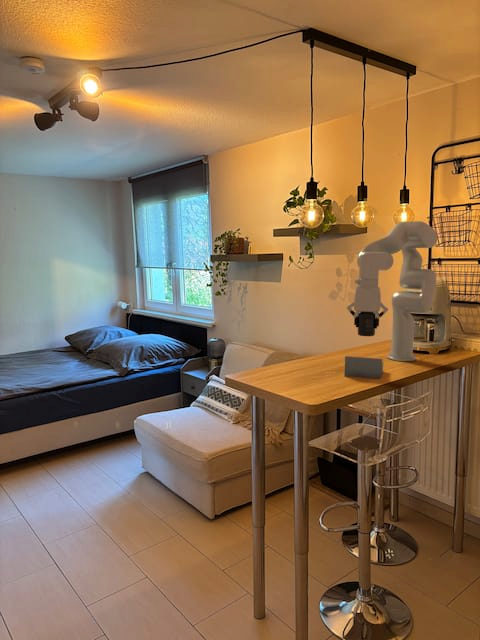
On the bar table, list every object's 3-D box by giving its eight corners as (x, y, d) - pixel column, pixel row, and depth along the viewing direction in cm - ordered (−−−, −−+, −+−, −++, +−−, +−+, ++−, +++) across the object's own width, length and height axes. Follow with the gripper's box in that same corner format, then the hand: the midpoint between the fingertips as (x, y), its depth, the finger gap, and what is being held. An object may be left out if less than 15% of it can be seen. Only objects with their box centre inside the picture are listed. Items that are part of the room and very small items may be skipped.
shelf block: (348, 368, 198) (349, 349, 197) (382, 371, 193) (383, 352, 192) (344, 376, 185) (345, 356, 184) (380, 379, 180) (382, 359, 179)
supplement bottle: (376, 334, 190) (377, 305, 188) (373, 337, 184) (374, 307, 182) (359, 333, 192) (360, 304, 191) (355, 335, 186) (357, 306, 185)
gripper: (345, 283, 185) (343, 327, 187) (390, 284, 179) (388, 330, 181) (347, 282, 192) (345, 325, 194) (391, 283, 186) (389, 327, 188)
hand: (366, 327), depth 188 cm, fingers closed on supplement bottle, 6 cm apart
